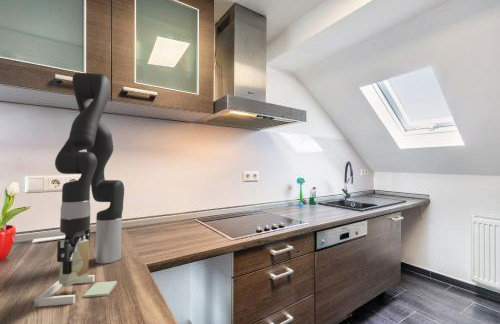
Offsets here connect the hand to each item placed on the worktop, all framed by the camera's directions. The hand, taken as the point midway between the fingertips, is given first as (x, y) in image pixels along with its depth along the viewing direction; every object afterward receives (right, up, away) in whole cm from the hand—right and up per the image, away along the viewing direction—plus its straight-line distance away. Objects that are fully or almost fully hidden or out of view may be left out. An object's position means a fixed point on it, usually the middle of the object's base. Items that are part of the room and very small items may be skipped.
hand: (74, 268), depth 74 cm
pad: (+8, -7, +1) cm, 11 cm away
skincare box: (0, -4, 0) cm, 4 cm away
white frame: (-2, -7, -1) cm, 8 cm away
